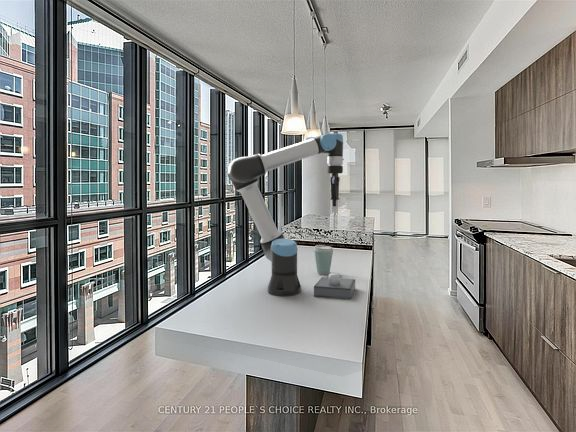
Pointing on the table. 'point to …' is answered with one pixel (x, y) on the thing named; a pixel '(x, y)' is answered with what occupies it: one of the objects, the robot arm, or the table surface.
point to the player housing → (334, 287)
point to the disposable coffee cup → (323, 258)
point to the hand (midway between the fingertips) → (334, 212)
